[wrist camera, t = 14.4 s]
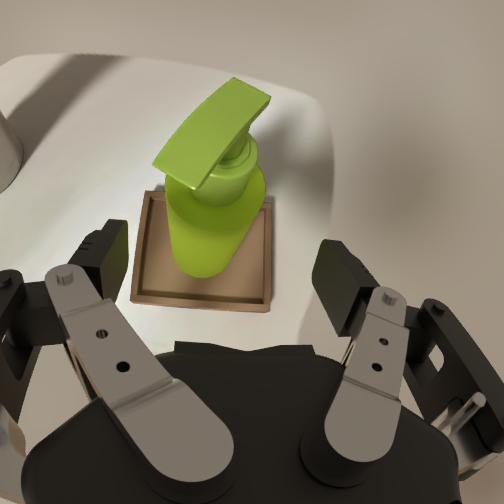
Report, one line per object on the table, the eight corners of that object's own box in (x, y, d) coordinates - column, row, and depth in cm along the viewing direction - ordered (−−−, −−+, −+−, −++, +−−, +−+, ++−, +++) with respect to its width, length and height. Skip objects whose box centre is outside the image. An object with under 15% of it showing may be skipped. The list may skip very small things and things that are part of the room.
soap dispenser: (154, 265, 28) (107, 132, 9) (193, 209, 30) (216, 41, 12) (206, 299, 28) (250, 217, 9) (243, 240, 31) (328, 99, 12)
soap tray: (133, 303, 28) (129, 300, 26) (147, 198, 31) (145, 190, 29) (264, 312, 30) (270, 311, 28) (266, 210, 33) (271, 203, 32)
